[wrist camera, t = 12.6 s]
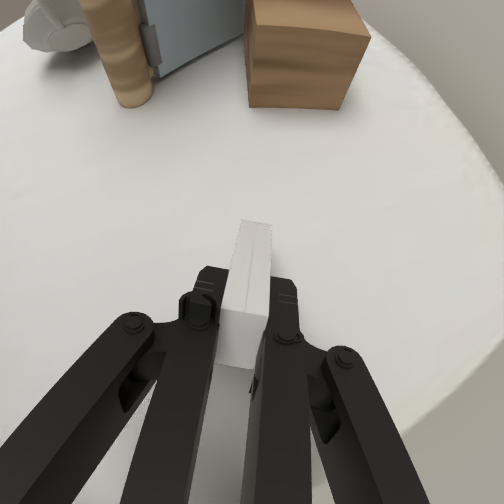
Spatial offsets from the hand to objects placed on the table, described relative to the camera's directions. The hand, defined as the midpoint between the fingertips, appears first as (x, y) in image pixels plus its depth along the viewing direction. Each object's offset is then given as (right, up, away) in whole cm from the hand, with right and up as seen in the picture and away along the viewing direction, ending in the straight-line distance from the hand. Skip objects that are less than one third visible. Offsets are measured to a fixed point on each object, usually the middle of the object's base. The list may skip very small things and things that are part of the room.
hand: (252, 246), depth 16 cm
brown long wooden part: (-9, +15, +7) cm, 18 cm away
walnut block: (+3, +15, +8) cm, 17 cm away
